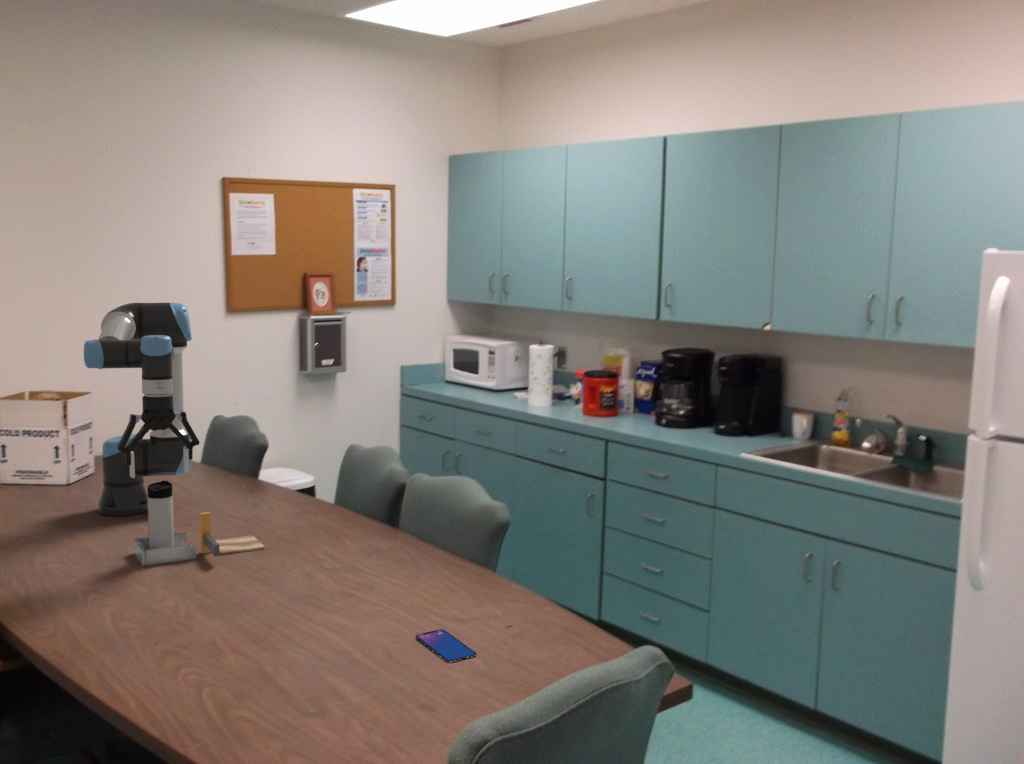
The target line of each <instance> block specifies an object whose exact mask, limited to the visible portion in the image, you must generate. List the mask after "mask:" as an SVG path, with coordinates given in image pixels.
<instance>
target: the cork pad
mask: <svg viewBox="0 0 1024 764" xmlns="http://www.w3.org/2000/svg"><path fill="white" fill-rule="evenodd" d="M214 540H215V541H216V542H217V543H218V544H219V554H220V555H221V556H222V555H223V556H224V555H230V554H236V553H237V554H238V553H244V552H251V551H257V550H264V549H266V546H265V545H264V544H263V543H262V542H261V541H260V540H258V539H257V537H255V536H254V535H253V534H250V535H243V536H241V535H240V536H234V537H233V536H232V537H228V538H227V537H226V538H218V539H214Z"/></svg>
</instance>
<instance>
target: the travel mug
mask: <svg viewBox="0 0 1024 764" xmlns="http://www.w3.org/2000/svg"><path fill="white" fill-rule="evenodd" d="M146 489H147V494H148V511H147V519H148V520H147V521H148V522H147V523H148V525H147V526H148V527H147V528H148V537H149V549H155V548H162V547H169V546H174V534H175V531H174V499H173V498H174V495H173V484H172V482H170V481H169V480H161V481H158V482H152V483H151V484H149V485H148V486H147V488H146Z"/></svg>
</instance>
